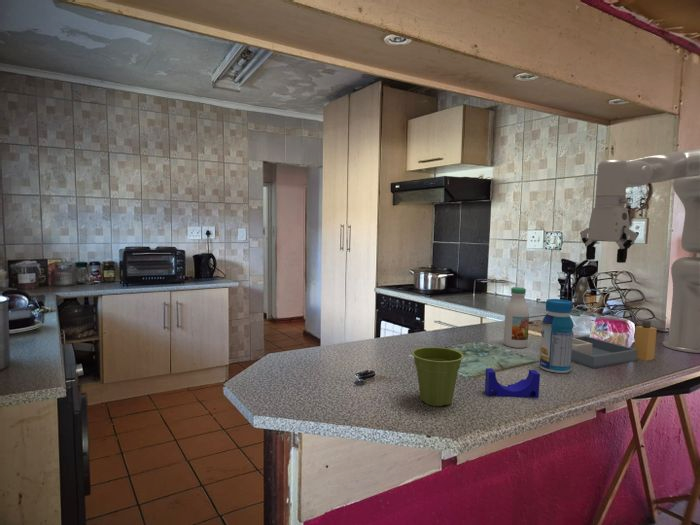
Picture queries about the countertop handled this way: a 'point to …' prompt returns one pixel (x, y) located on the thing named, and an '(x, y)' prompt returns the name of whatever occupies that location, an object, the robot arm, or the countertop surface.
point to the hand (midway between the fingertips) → (605, 261)
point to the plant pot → (437, 373)
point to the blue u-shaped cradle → (513, 386)
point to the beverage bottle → (557, 336)
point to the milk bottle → (516, 320)
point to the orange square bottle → (645, 341)
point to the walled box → (600, 352)
